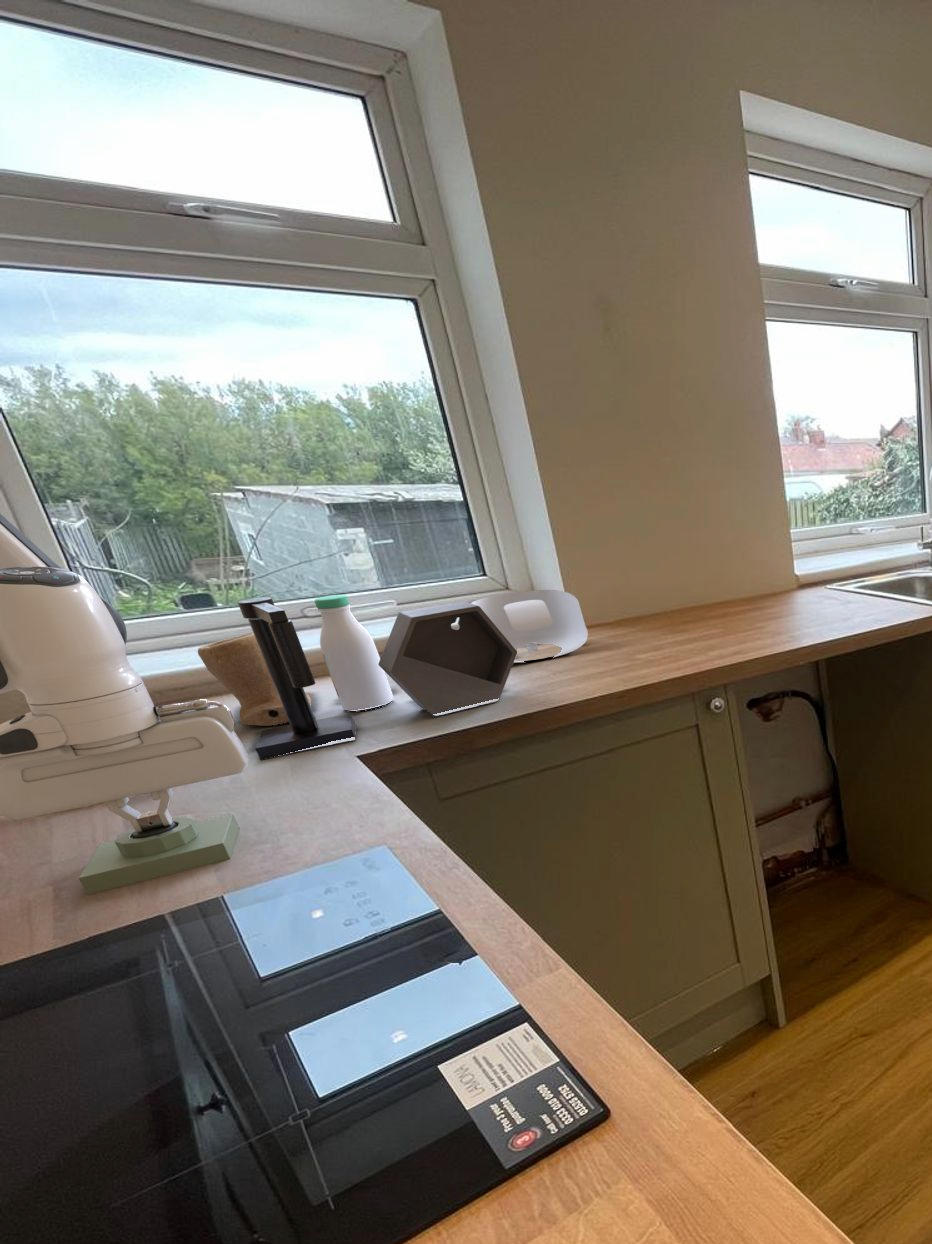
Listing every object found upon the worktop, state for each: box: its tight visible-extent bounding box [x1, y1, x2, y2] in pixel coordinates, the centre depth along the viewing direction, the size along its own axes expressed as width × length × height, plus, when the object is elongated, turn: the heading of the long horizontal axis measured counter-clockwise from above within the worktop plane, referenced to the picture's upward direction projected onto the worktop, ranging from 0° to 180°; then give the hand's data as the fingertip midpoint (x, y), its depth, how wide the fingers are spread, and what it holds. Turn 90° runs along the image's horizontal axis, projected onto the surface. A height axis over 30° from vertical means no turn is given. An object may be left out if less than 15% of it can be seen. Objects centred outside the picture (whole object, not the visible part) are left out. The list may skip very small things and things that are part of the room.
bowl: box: [471, 589, 589, 664], centre depth 177 cm, size 20×19×12 cm
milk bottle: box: [314, 594, 394, 711], centre depth 144 cm, size 8×8×20 cm
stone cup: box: [197, 632, 312, 727], centre depth 141 cm, size 15×12×15 cm
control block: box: [78, 813, 240, 895], centre depth 95 cm, size 12×10×4 cm
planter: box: [378, 600, 517, 716], centre depth 143 cm, size 17×8×21 cm
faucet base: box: [247, 618, 356, 761], centre depth 128 cm, size 12×10×20 cm
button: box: [133, 822, 177, 839], centre depth 95 cm, size 4×4×2 cm
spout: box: [237, 596, 316, 689], centre depth 122 cm, size 15×4×12 cm, turn 51°
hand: (155, 827), depth 95 cm, fingers closed, pressing on button
